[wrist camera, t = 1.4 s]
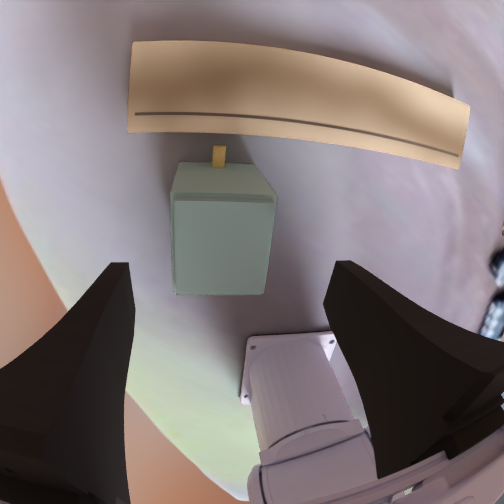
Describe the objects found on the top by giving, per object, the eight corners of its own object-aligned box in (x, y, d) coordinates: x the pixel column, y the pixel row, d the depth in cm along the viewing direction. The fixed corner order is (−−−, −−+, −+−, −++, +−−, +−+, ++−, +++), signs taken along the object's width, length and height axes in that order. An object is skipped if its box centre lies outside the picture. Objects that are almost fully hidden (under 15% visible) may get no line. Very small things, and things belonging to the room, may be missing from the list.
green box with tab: (247, 238, 21) (266, 297, 15) (178, 237, 20) (172, 298, 14) (256, 145, 18) (284, 171, 12) (180, 141, 17) (169, 166, 11)
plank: (443, 163, 20) (459, 170, 19) (134, 129, 16) (127, 132, 15) (454, 103, 18) (470, 106, 16) (139, 46, 14) (132, 41, 12)
